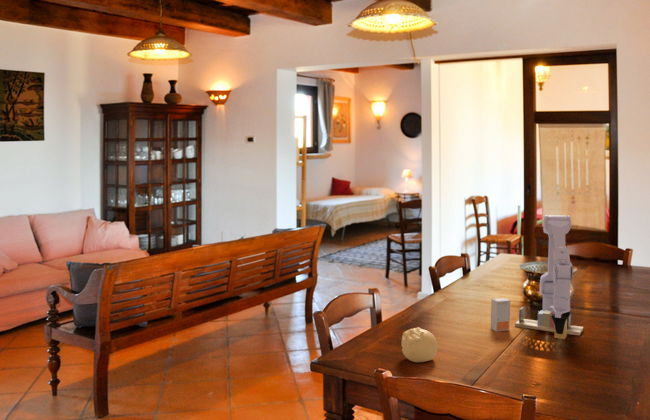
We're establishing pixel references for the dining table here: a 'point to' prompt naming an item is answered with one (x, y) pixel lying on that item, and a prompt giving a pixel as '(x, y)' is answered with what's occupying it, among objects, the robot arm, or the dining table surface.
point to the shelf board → (533, 325)
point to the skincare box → (500, 314)
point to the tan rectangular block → (563, 336)
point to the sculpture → (419, 345)
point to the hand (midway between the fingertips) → (560, 331)
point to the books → (545, 319)
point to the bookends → (521, 317)
